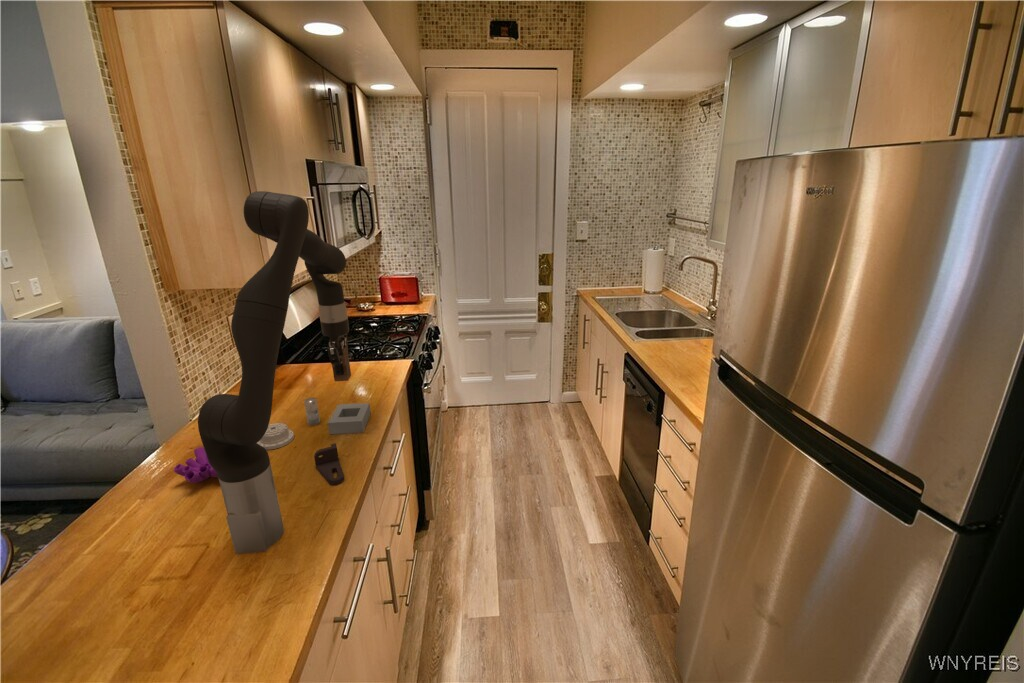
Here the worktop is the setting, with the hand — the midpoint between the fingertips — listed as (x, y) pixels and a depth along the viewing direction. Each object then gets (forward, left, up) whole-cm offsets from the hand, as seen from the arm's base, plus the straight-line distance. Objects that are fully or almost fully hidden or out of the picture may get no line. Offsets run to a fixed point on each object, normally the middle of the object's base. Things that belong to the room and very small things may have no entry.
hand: (342, 371), depth 136 cm
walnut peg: (0, 0, -2) cm, 2 cm away
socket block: (0, 0, -18) cm, 18 cm away
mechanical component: (-8, +20, -19) cm, 28 cm away
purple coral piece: (-24, +29, -18) cm, 42 cm away
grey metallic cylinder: (+2, +12, -18) cm, 22 cm away
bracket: (-26, -1, -19) cm, 32 cm away
